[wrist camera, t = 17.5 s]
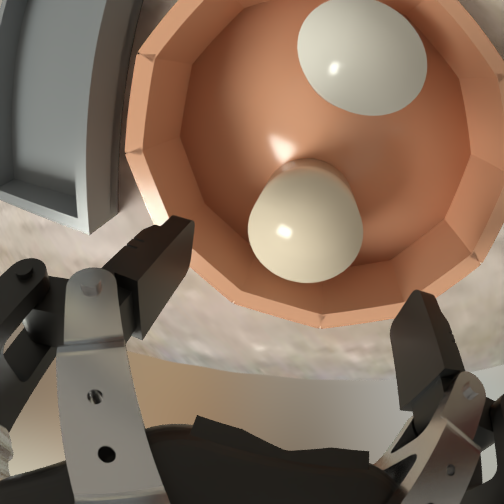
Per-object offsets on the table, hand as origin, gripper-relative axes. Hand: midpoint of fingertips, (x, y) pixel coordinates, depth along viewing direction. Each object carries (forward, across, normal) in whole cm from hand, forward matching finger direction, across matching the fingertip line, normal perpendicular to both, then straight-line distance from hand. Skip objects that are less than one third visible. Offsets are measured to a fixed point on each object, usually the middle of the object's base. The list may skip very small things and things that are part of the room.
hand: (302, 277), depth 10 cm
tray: (+8, +20, -5) cm, 22 cm away
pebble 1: (+7, 0, -8) cm, 11 cm away
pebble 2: (+7, 0, 0) cm, 7 cm away
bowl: (+8, 0, -4) cm, 9 cm away
